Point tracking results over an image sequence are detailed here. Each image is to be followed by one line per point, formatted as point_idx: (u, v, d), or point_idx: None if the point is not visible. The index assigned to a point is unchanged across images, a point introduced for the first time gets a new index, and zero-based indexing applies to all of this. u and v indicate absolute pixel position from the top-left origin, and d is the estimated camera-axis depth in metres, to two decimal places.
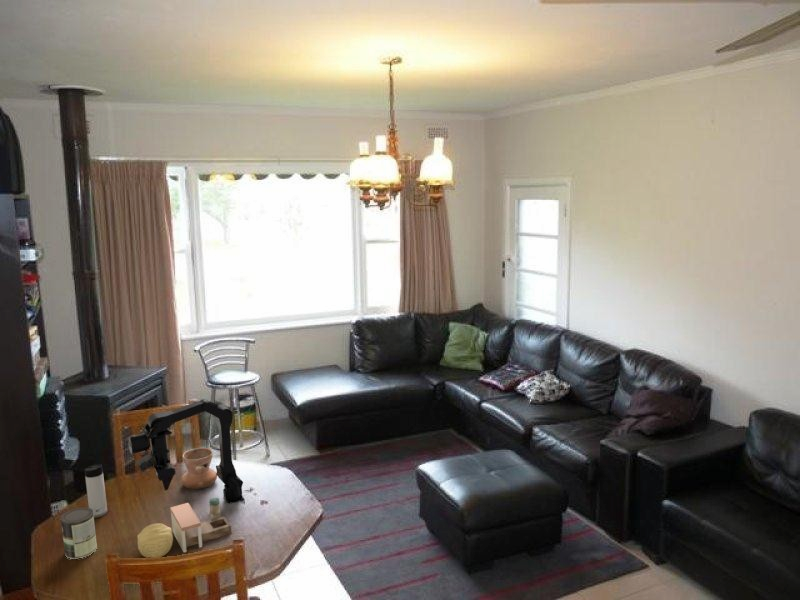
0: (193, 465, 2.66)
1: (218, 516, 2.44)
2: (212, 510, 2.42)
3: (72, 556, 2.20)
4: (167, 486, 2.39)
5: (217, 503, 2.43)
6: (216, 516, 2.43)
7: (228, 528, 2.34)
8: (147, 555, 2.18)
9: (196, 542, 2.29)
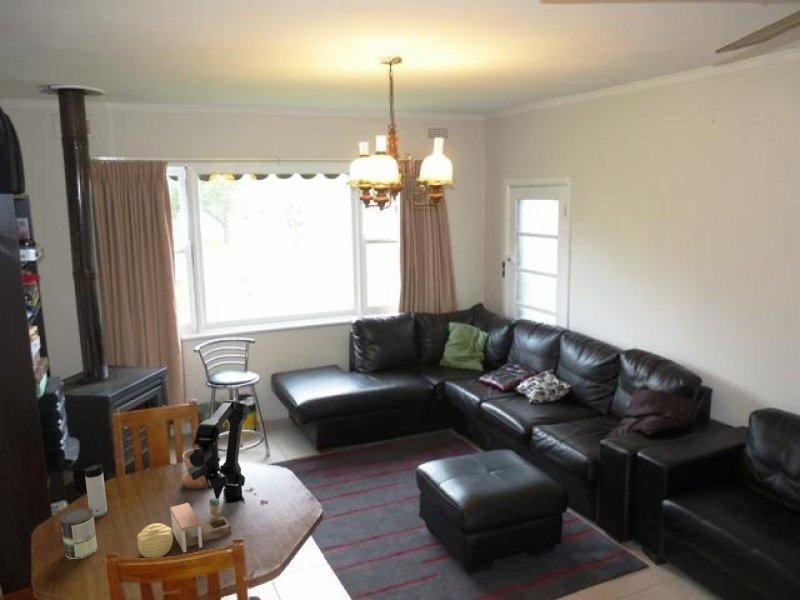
0: None
1: (218, 516, 2.44)
2: (212, 510, 2.42)
3: (72, 556, 2.20)
4: (218, 494, 2.39)
5: (217, 503, 2.43)
6: (216, 517, 2.43)
7: (228, 528, 2.34)
8: (147, 555, 2.18)
9: (196, 542, 2.29)
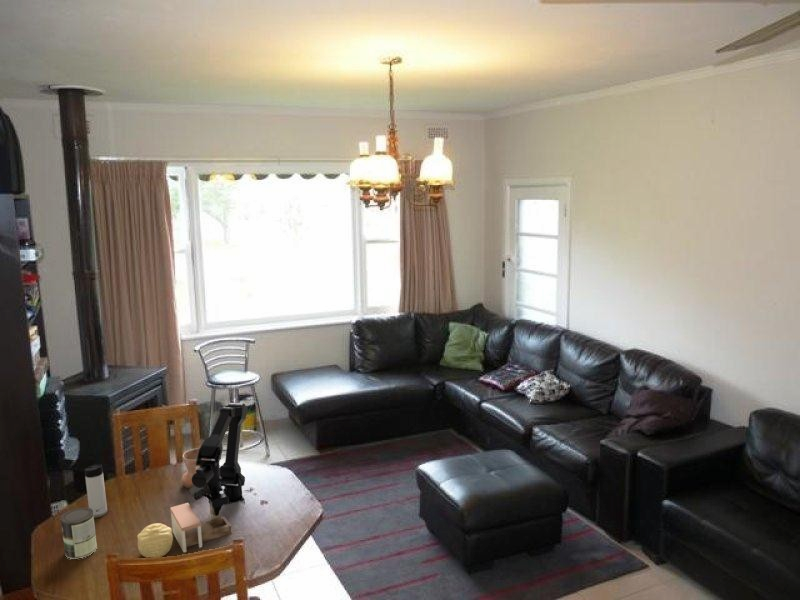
0: (193, 465, 2.66)
1: (218, 516, 2.44)
2: (212, 510, 2.42)
3: (72, 556, 2.20)
4: (218, 511, 2.42)
5: None
6: (216, 516, 2.43)
7: (228, 528, 2.34)
8: (147, 555, 2.18)
9: (196, 542, 2.29)
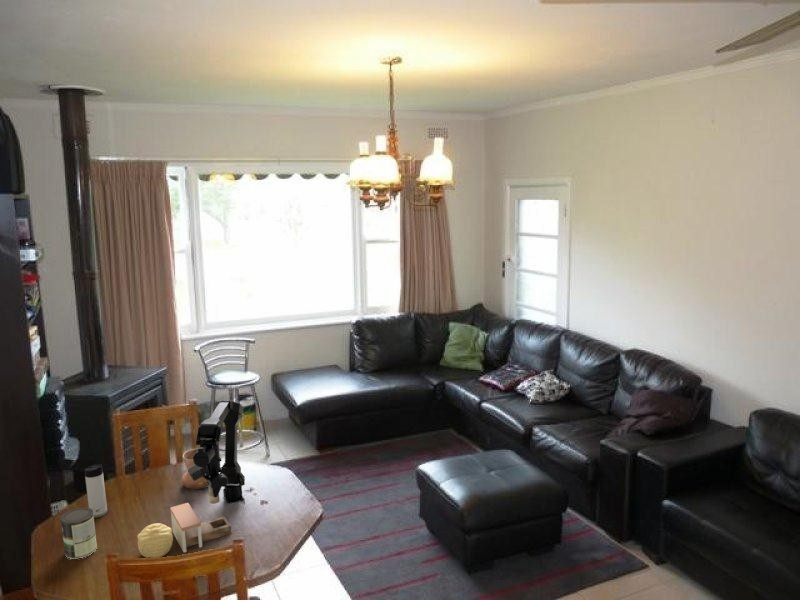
0: (193, 465, 2.66)
1: (217, 498, 2.37)
2: (211, 491, 2.36)
3: (72, 556, 2.20)
4: (217, 493, 2.36)
5: None
6: (215, 498, 2.37)
7: (228, 528, 2.34)
8: (147, 555, 2.18)
9: (196, 542, 2.29)
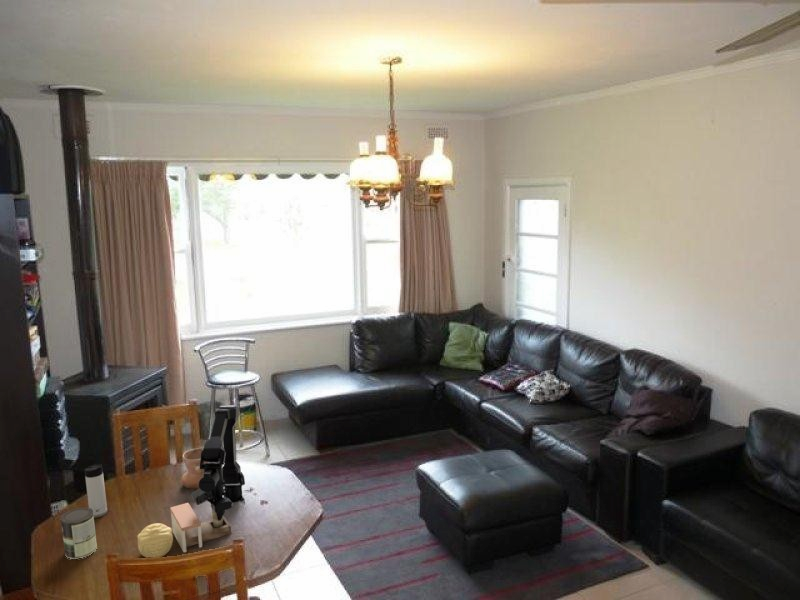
0: (193, 465, 2.66)
1: (221, 521, 2.35)
2: (214, 515, 2.34)
3: (72, 556, 2.20)
4: (220, 516, 2.34)
5: None
6: (219, 521, 2.34)
7: (228, 528, 2.34)
8: (147, 555, 2.18)
9: (196, 542, 2.29)
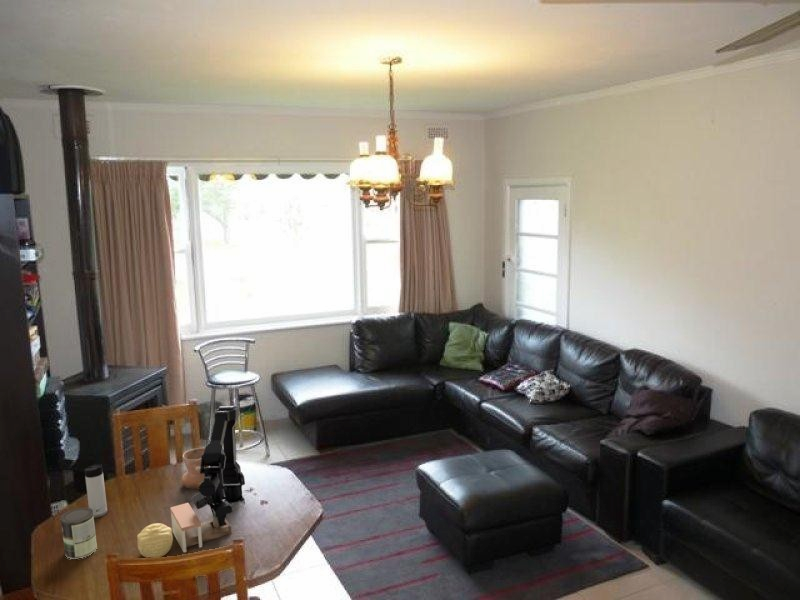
0: (193, 465, 2.66)
1: None
2: (215, 522, 2.34)
3: (72, 556, 2.20)
4: (222, 522, 2.33)
5: None
6: None
7: (228, 528, 2.34)
8: (147, 555, 2.18)
9: (196, 542, 2.29)
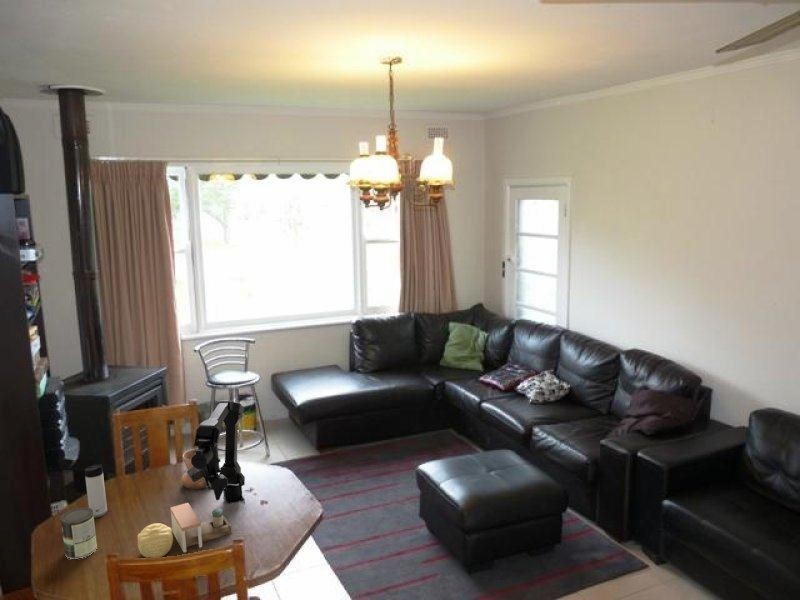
0: None
1: None
2: (215, 522, 2.34)
3: (72, 556, 2.20)
4: (219, 496, 2.35)
5: (220, 514, 2.34)
6: None
7: (228, 528, 2.34)
8: (147, 555, 2.18)
9: (196, 542, 2.29)
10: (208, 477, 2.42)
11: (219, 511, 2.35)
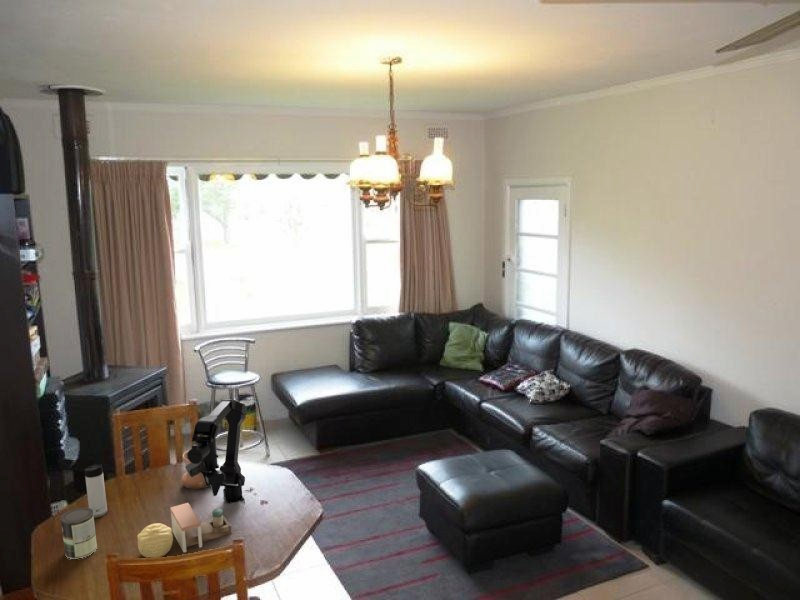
0: None
1: None
2: (215, 522, 2.34)
3: (72, 556, 2.20)
4: (216, 492, 2.37)
5: (220, 514, 2.34)
6: None
7: (228, 528, 2.34)
8: (147, 555, 2.18)
9: (196, 542, 2.29)
10: (206, 473, 2.44)
11: (219, 511, 2.35)
